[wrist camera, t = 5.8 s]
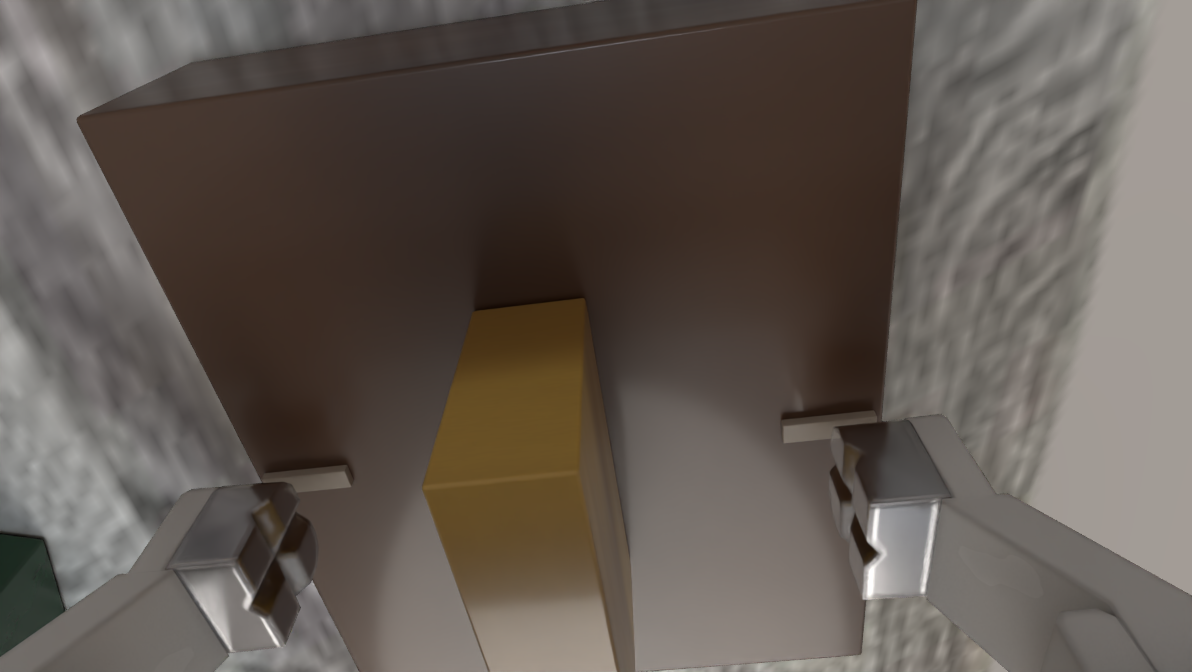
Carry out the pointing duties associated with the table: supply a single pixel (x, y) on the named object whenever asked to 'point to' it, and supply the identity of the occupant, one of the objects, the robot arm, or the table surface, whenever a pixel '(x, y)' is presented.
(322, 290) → the lock plate
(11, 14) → the table surface
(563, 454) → the lock knob
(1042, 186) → the table surface
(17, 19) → the table surface
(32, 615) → the button box
